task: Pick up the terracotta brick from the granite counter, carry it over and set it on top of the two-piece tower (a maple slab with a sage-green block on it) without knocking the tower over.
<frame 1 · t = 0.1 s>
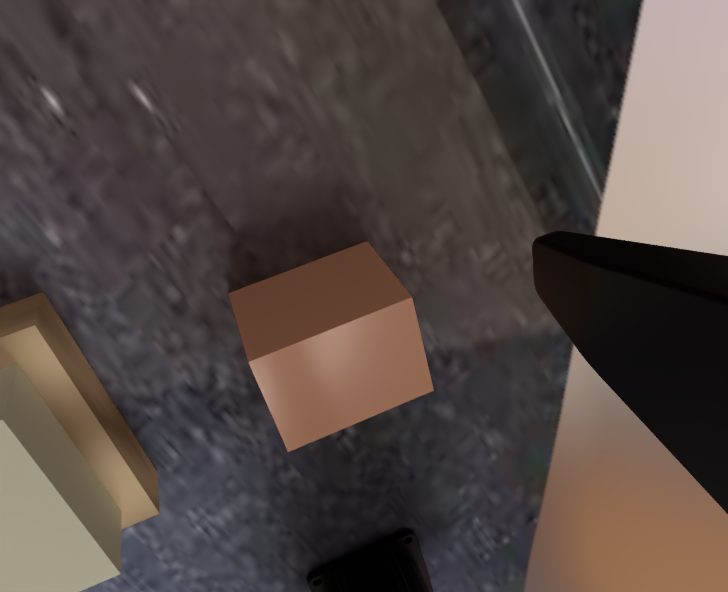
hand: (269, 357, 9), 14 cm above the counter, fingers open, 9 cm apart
terracotta brick: (313, 309, 26), on the counter
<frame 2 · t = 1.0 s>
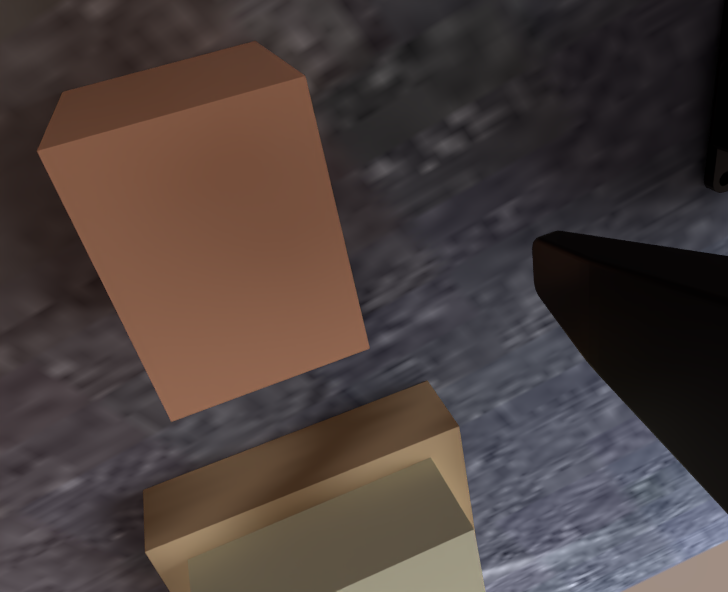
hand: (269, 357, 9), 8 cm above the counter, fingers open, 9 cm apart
tower top: (342, 580, 21), point 2 cm above the counter, touching tower base
tower base: (320, 515, 24), on the counter, touching tower top
terracotta brick: (203, 184, 16), on the counter
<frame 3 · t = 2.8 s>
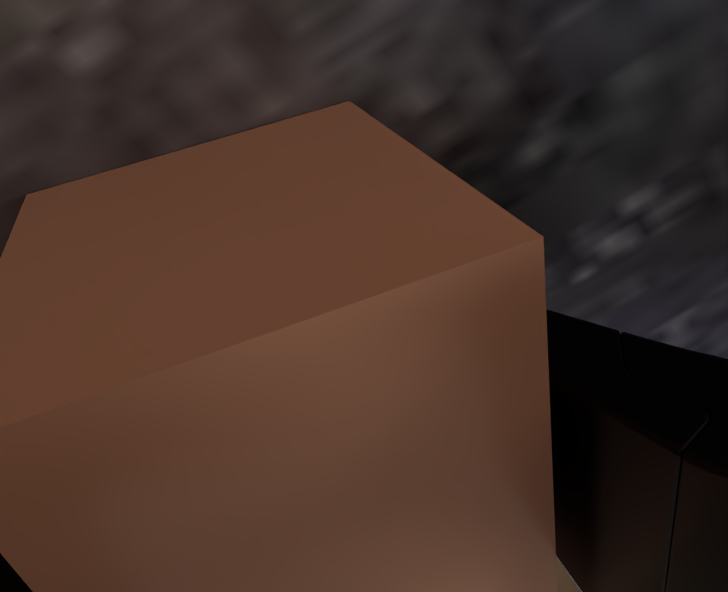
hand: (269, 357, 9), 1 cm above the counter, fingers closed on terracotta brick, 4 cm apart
terracotta brick: (257, 321, 10), on the counter, touching gripper
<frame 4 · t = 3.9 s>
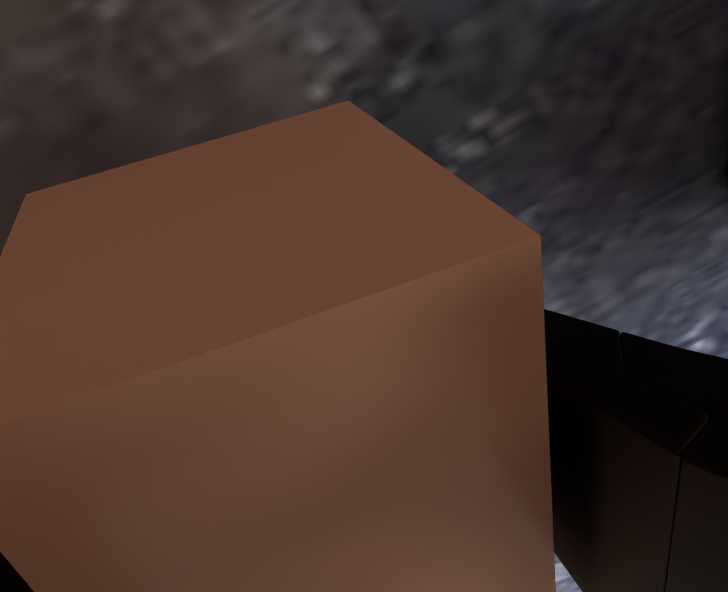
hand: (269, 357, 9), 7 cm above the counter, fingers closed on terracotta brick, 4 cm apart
terracotta brick: (256, 320, 10), point 6 cm above the counter, touching gripper
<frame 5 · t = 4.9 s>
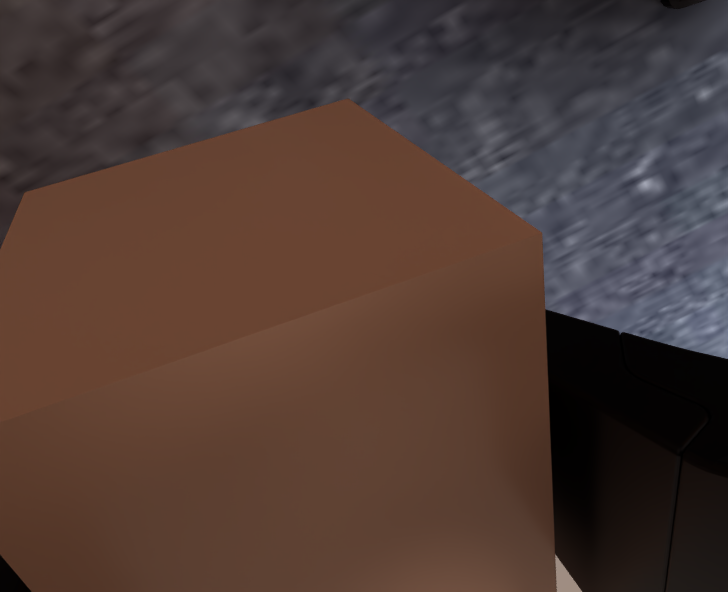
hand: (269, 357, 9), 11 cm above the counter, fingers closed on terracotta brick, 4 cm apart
terracotta brick: (256, 319, 10), point 10 cm above the counter, touching gripper
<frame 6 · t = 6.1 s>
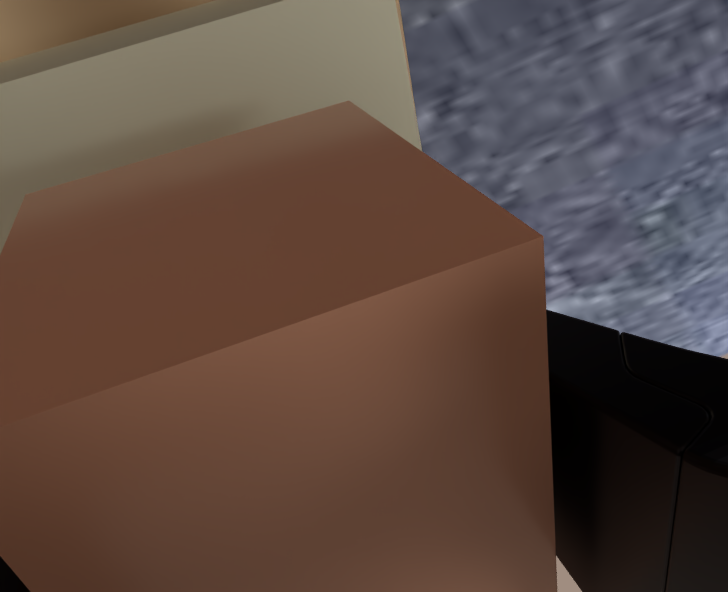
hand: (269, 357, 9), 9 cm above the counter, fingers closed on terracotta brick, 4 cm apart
tower top: (218, 203, 14), point 2 cm above the counter, touching tower base
tower base: (208, 168, 17), on the counter, touching tower top
terracotta brick: (256, 321, 10), point 8 cm above the counter, touching gripper
when the fingers open (8 cm above the counter, at t = 7.0 s): terracotta brick drops 2 cm, resting on tower top.
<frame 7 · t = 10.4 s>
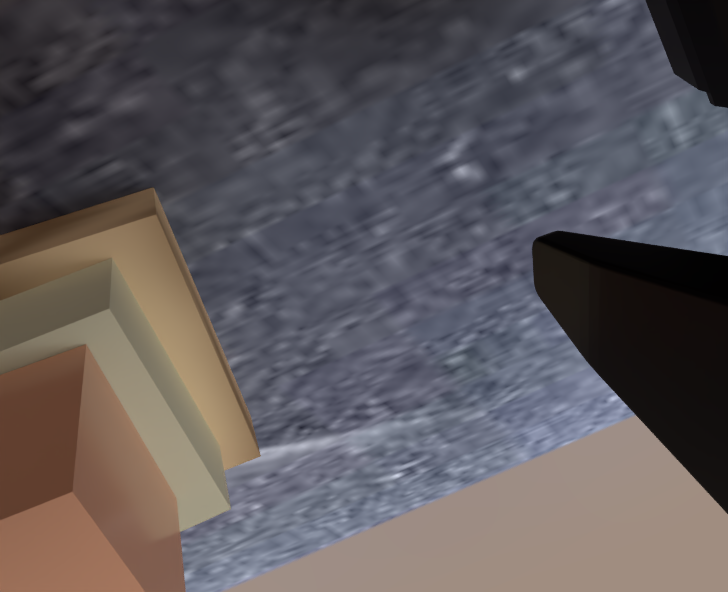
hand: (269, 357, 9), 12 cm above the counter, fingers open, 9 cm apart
tower top: (48, 412, 19), point 2 cm above the counter, touching terracotta brick, tower base
tower base: (68, 355, 22), on the counter, touching tower top
terracotta brick: (53, 460, 17), point 5 cm above the counter, touching tower top
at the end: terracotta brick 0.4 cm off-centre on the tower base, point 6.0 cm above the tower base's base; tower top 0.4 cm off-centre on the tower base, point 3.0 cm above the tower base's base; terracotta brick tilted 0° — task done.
